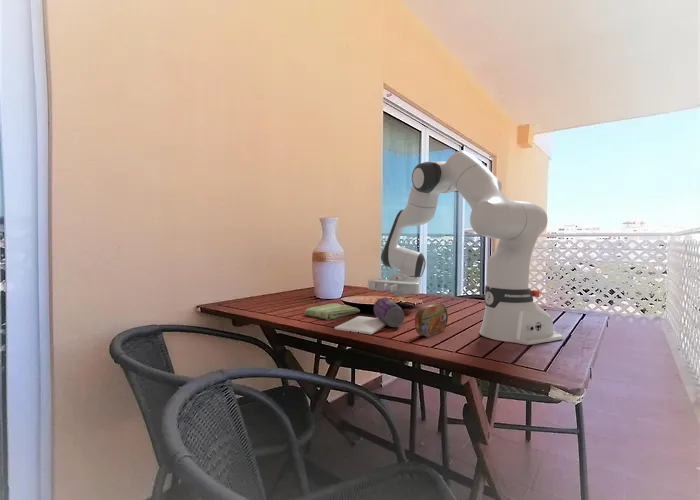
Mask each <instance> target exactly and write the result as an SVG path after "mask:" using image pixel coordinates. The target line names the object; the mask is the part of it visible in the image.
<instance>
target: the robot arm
mask: <svg viewBox="0 0 700 500" xmlns="http://www.w3.org/2000/svg"><path fill="white" fill-rule="evenodd" d="M411 183H412V185H411V187H410V192H409V195H408V201H407V204H406V206H405V207H404V208H403V209H400V210H399V211H398V212H397V214H396V216H395V219H394V221H393V224H392V226H391V229H390V231H389V234H388V236H387V240H386V243H385V245H384V247H383V250H382V252H381V255H380V260H381V262H382V264H383V265H384V267H387V268H391V269H395V270H398V271H400V272H397V273H393V274H391V275H390V276H389V278H386V279H385V278H371V279H369V280H368V281H367V289H368V290H374V291H386V292H389V293H391V294H393V295H395V296H403V295H404V296H405V295H420V294H421V286H422V285H421V284H422V283H421V281H422V280H421V277H422V276H423V275H424V271H425V269H426V264H427V263H426V259H425V256H424V254H423V253H422V252H419V251H416V250H414V249H410V248H407V247H403V246H401V245H399V241H400V238H401V236H402V232H403V229H404V228H407V227H413V226H416V227H417V226H422V225H425V224H427V223H429V222H431V221H432V219H433V218H434V216H435V213H436V212H437V207H438V201H439V196H440V194H450V193H457V192H458V193H459V194H460V195H461V196H462V198H463V199H464V200H465V202H467V203H468V205H469V206H470V208H471V211H470V212H471V213H470V217H469V222H470V226H471V229H472V230H473V232H474V233H476V234H477V235H479V236H481V237H486V238H489V239H492V240H493V239H496V240H499V241H498V244H497V246H496V249H495V250H494V252H493V253H492V254H491V255H490V256H489V257H488V259H487V262H486V263H487V265H486V266H487V267H486V271H487V272H486V285H485V287H484V288H485V289H484V304H485V305H484V306H485V307H484V314H483V320H482V324H481V325H480V326H481V327H480V330H479V335H481V336H483V337H485V338H488V339H491V340H495V341H498V342H499V341H501V342H507V343H515V344H521V345H528V346H531V345H536V344H543V343H548V342H554V341H559V340H560V341H561V340H563V339H564V338H563V335H562V334H561V333H559V332H557V331H554V322H553V319H552V316H551V315H550V314H549V313H548V312H547V311H545V310H544V309H543V308H541V306H540V305H538V304H537V303H536V302H534V297H535V298H541V297H542V292H541V290H539V289H532V290H531V289H530V288H529V283H530V282H529V279H530V264H531V258H532V254H533V250H534V248H535V246H536V242H537V241H538V238H539V237H540V235H541V234H542V233H543V232H544V231H545V230H546V228H547V226H548V215H547V212H546V210H544V208H542V207H541V206H539V205H538V204H535V203H532V202H531V201H522V200H513V199H510V198H508V197H507V196H505V195H504V193H503V192H502V181H500V179H499V178H498V177H497V176H496V175H495V174H494V173H493V172H492V171H491V170H490V169H489V168H488V167H487V166H486V165H485V164H484V163H483V162H482V161H481V160H480V159H478V158H477V157H476V156H474V155H473V154H471V153H469V152H467V151H463V150H462V151H456V152H454V153H453V154H451V155H449V157H448V158H447V160H446V161H445V160H439V161H438V160H437V161H426V162H425V161H424V162H422V163H419V164H417V165H416V166H414V169H413V171H412V174H411Z"/></svg>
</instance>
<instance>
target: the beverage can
mask: <svg viewBox="0 0 700 500" xmlns="http://www.w3.org/2000/svg"><path fill="white" fill-rule="evenodd" d="M373 313H374V315H375V316H376V318H379V319H380V320H381V321H382V322H383V323H385V324H386V326H388V327H391V328H398V327H400V325H402V324H403V322H404V320H405V312H404V310H403V309H402V307H401V306H399V305H398V304H397V303H396V302H395V301H392V300H391V299H390V298H388V297H387V298H386V297H380V298H379V299H378V300H376V301H375V302H374V305H373Z"/></svg>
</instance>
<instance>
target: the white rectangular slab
mask: <svg viewBox="0 0 700 500" xmlns="http://www.w3.org/2000/svg"><path fill="white" fill-rule="evenodd" d="M386 326H387V325H386V324H385V323H383V322H382V321H381V320H380V319H379V318H378V317H370V316H362V315H359V316H355V317H354V318H352V319H350V320H348V321H344V322H343V323H341V324H339V325H337V326H334V330H337V331H344V332H350V331H351V332H352V333H358V332H359V334H364V335H365V334H367V335H373V334H374V333H376V332H378V331H380V330H381V329H383V328H384V327H386Z"/></svg>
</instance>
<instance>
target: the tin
mask: <svg viewBox="0 0 700 500" xmlns="http://www.w3.org/2000/svg"><path fill="white" fill-rule="evenodd" d="M448 315H449V314H448V309H447V307H446V305H444V304H443V303H433V304H429V305H426V306H422V307H420V308H418V309H417V311H416V313H415V316H414V326H415V331H416V334H417V335H418V336H420V337H421V336H422V337H426V338H430V337H433V336H435V335H438V334H440V333H442V332H444V331H445V329H446V328H447V325H448V318H449V316H448Z"/></svg>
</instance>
